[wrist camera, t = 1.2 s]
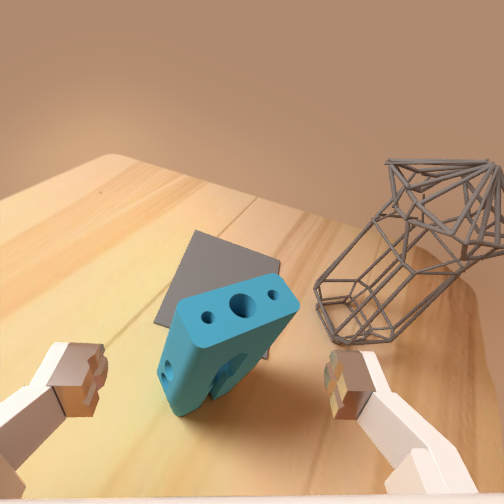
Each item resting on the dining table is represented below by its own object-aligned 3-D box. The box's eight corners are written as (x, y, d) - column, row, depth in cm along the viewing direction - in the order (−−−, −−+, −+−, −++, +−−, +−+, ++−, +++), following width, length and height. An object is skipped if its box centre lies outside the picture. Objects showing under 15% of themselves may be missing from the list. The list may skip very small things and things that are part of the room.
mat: (153, 323, 48) (153, 321, 48) (195, 231, 64) (195, 229, 64) (265, 359, 50) (266, 358, 50) (279, 261, 66) (279, 260, 66)
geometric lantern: (391, 357, 59) (589, 215, 35) (319, 367, 52) (503, 201, 29) (352, 287, 68) (488, 138, 45) (288, 288, 62) (406, 114, 38)
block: (226, 354, 49) (276, 271, 35) (243, 384, 46) (303, 308, 33) (148, 388, 42) (172, 301, 28) (162, 426, 39) (197, 351, 26)
